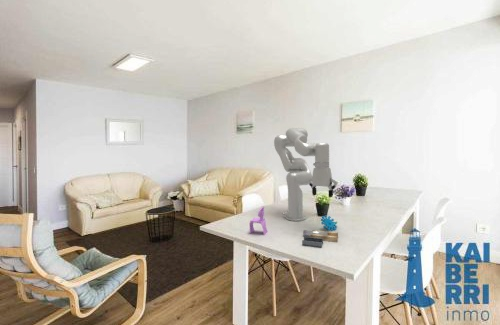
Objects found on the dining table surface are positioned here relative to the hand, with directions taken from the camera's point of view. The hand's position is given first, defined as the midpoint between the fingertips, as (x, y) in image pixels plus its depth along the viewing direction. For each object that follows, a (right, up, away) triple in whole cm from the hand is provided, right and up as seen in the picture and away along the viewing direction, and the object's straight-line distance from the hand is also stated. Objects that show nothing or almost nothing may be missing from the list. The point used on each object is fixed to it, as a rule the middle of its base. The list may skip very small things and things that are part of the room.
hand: (322, 196), depth 139 cm
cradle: (-10, -21, -18) cm, 30 cm away
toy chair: (-36, -21, +2) cm, 41 cm away
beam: (-2, -21, -10) cm, 23 cm away
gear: (+5, -20, +5) cm, 21 cm away
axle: (-6, -20, -8) cm, 23 cm away
